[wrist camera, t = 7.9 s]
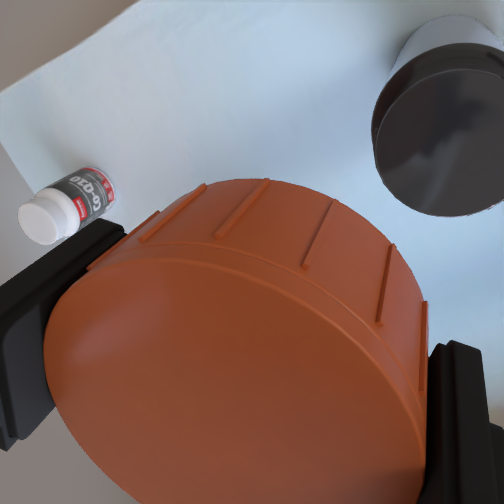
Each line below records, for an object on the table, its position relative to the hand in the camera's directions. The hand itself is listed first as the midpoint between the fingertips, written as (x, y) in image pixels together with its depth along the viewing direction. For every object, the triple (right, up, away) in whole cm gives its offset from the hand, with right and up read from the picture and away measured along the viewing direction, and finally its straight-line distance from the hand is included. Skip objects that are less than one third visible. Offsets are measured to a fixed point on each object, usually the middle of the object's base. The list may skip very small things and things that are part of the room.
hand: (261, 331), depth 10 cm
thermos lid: (0, 0, 0) cm, 0 cm away
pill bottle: (-16, +8, +36) cm, 40 cm away
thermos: (+13, +14, +21) cm, 28 cm away
